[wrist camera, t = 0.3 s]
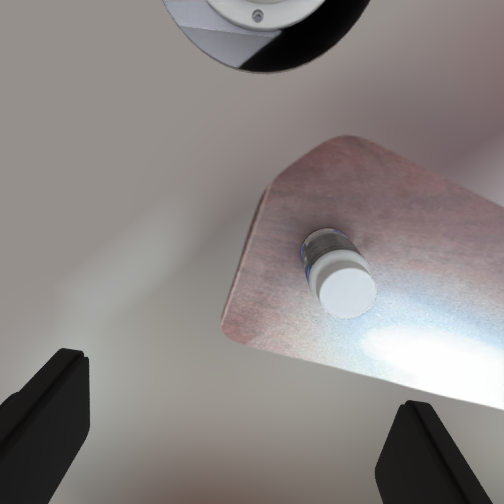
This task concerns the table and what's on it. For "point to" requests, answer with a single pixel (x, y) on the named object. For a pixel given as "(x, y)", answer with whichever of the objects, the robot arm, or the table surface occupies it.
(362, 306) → the pill bottle
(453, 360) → the table surface
